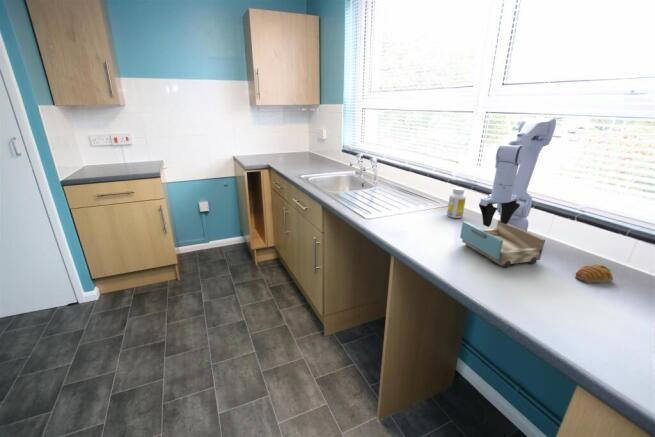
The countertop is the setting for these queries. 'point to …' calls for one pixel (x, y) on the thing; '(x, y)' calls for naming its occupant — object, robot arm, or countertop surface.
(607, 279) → the pastry
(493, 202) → the robot arm
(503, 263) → the tray
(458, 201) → the supplement bottle
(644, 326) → the countertop surface
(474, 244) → the panel
